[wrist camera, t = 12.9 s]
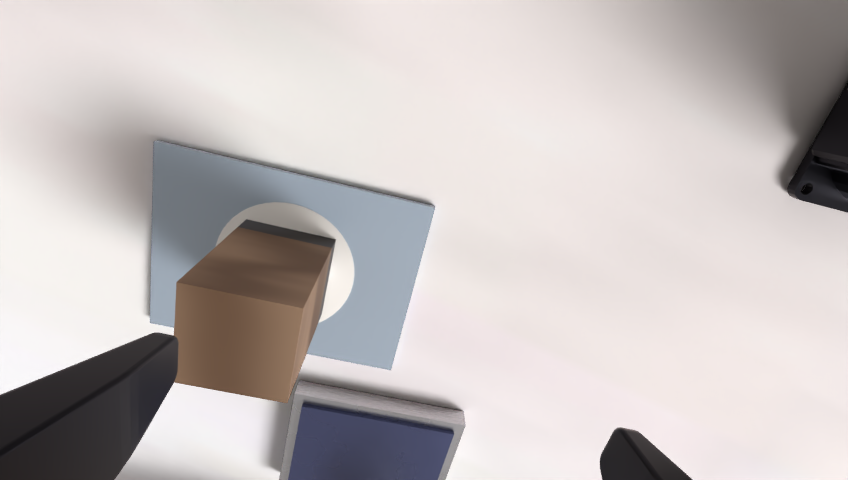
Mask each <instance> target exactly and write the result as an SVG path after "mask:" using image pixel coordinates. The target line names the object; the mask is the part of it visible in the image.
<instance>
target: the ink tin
mask: <svg viewBox="0 0 848 480" xmlns="http://www.w3.org/2000/svg"><path fill="white" fill-rule="evenodd" d="M464 428H465V418H464V411H458V410H453V409H448V408H443V407H437V406H432V405H427V404H422V403H416V402H411V401H406V400H401V399H395V398H390V397H385V396H380V395H374V394H369V393H364V392H359V391H353V390H348V389H343V388H338V387H332V386H327V385H322V384H317V383H311V382H306V381H301V380H299V383H298V385H297V388H296V391H295V393H294V399H293V405H292V410H291V416H290V422H289V427H288V433H287V439H286V444H285V450H284V456H283V461H282V467H281V473H280V478H279V480H445V479H446V477H447V474H448V471H449V468H450V466H451V463H452V460H453V458H454V455H455V452H456V450H457V447H458V444H459V441H460V439H461V436H462V433H463V431H464Z"/></svg>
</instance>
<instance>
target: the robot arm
mask: <svg viewBox="0 0 848 480" xmlns="http://www.w3.org/2000/svg"><path fill="white" fill-rule="evenodd" d="M804 185H805V188H804V189H803V191H801V188H802V187H803V186H804ZM788 193H789V195H790V196H791V197H793V198H796V199H799V200H802V201H806V202H810V203H814V204H817V205H821V206H825V207H829V208H833V209H837V210H840V211H844V212H848V83H847V85H846V86H845V88H844V90H843V92H842V93H841V95H840V97H839V99H838V100H837V102H836V104H835V105H834V107H833V109H832V111H831V112H830V114H829V116H828V118H827V119H826V121H825V123H824V125H823V126H822V128H821V130H820V132H819V133H818V135H817V137H816V138H815V140H814V142H813V144H812V145H811V147H810V149H809V151H808V152H807V154H806V156H805V158H804V159H803V161H802V163H801V165H800V166H799V168H798V170H797V172H796V173H795V175H794V177H793V178H792V180H791V182H790V184H789V186H788ZM178 348H179V342H178V339H177V337H175V336H172V335H168V334H163V333H152V334H149V335H147V336H144V337H142V338H139V339H137V340H134V341H132V342H129V343H127V344H124V345H122V346H120V347H117V348H115V349H112V350H110V351H107V352H105V353H102V354H100V355H97V356H95V357H92V358H90V359H88V360H85V361H83V362H80V363H78V364H75V365H73V366H70V367H68V368H65V369H63V370H60V371H58V372H55V373H53V374H51V375H48V376H46V377H43V378H41V379H38V380H36V381H33V382H31V383H28V384H26V385H23V386H21V387H19V388H16V389H14V390H11V391H9V392H6V393H4V394H1V395H0V480H114V479H115V478H116V477H117V475H118V474H119V472H120V471H121V470H122V468H123V467H124V465H125V464H126V462H127V461H128V460H129V458H130V457H131V455H132V453H133V452H134V450H135V449H136V447H137V445H138V444H139V442H140V440H141V438H142V437H143V435H144V433H145V432H146V430H147V428H148V426H149V425H150V423H151V421H152V419H153V418H154V416H155V414H156V412H157V411H158V409H159V407H160V406H161V404H162V402H163V400H164V399H165V397H166V395H167V393H168V392H169V390H170V388H171V386H172V385H173V383H174V381H175V379H176V376H177V372H178ZM600 470H601V475H602V480H692V479H691V478H690V477H689V476H688V475H687V474H686V473H684V472H683V471H682V470H681V469H680V468H679V467H678V466H677V465H675V464H674V463H673V462H672V461H671V460H670V459H669V458H668V457H666V456H665V455H664V454H663V453H662V452H661V451H660V450H659V449H657V448H656V447H655V446H654V445H653V444H652V443H651V442H650V441H648V440H647V439H646V438H645V437H644V436H643V435H642V434H641V433H639V432H638V431H635V430H631V429H626V428H617V429H615V430H614V432H613V433H612V435H611V437H610V439H609V441H608V443H607V445H606V446H605V448H604V450H603V452H602V454H601V457H600Z"/></svg>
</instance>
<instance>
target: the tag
mask: <svg viewBox="0 0 848 480" xmlns="http://www.w3.org/2000/svg"><path fill="white" fill-rule="evenodd" d="M434 210H435V206H433V205H428V204H424V203H420V202H416V201H412V200H407V199H403V198H399V197H395V196H390V195H386V194H382V193H378V192H374V191H369V190H365V189H361V188H357V187H353V186H348V185H344V184H340V183H336V182H332V181H327V180H323V179H319V178H315V177H311V176H306V175H302V174H298V173H294V172H289V171H285V170H281V169H277V168H273V167H268V166H264V165H260V164H256V163H252V162H247V161H243V160H239V159H235V158H231V157H226V156H222V155H218V154H214V153H209V152H205V151H201V150H197V149H193V148H188V147H184V146H180V145H176V144H172V143H167V142H163V141H159V140H157V141H154V147H153V196H152V244H151V292H150V323H153V324H158V325H163V326H168V327H173V328H174V324H175V302H176V282H177V281H178V280H179V279H180V278H182V277H183V276H184V275H185V274H186V273H187V272H188V271H189V270H190V269H192V268H193V267H194V266H195V265H196V264H197V263H198V262H199V261H200V260H202V259H203V258H204V257H205V256H206V255H207V254H208V253H209V252H210V251H212V250H213V249H214V248H215V247H216V246H217V245H218V244H219V243H220V242H222V241H223V240H224V239H225V238H226V237H227V236H228V235H229V234H230V233H231V232H233V231H234V230H235V229H236V228H237V227H238V226H239V225H240V224H241V223H243V222H244V221H245V220H246V219H248V220H252V221H257V222H261V223H266V224H270V225H274V226H279V227H283V228H288V229H292V230H297V231H301V232H306V233H310V234H314V235H319V236H323V237H328V238H332V239H336V242H335V247H334V253H333V258H332V263H331V268H330V274H329V279H328V284H327V289H326V295H325V300H324V305H323V310H322V315H321V317H320V320H319V322H318V325H317V328H316V330H315V333H314V335H313V338H312V341H311V343H310V346H309V348H308V351H307V353H306V354H311V355H316V356H321V357H326V358H331V359H336V360H341V361H346V362H351V363H356V364H362V365H367V366H372V367H377V368H382V369H387V370H391V368H392V364H393V360H394V357H395V353H396V349H397V346H398V342H399V338H400V335H401V331H402V327H403V324H404V320H405V316H406V313H407V309H408V305H409V302H410V298H411V294H412V291H413V287H414V283H415V280H416V276H417V272H418V269H419V265H420V261H421V258H422V254H423V250H424V247H425V243H426V239H427V236H428V232H429V228H430V225H431V221H432V217H433V214H434Z"/></svg>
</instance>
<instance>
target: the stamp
mask: <svg viewBox="0 0 848 480" xmlns="http://www.w3.org/2000/svg"><path fill="white" fill-rule="evenodd" d="M335 242H336V239H332V238H328V237H323V236H319V235H314V234H310V233H306V232H301V231H297V230H292V229H288V228H283V227H279V226H274V225H270V224H266V223H261V222H257V221H252V220H248V219H246V220H245V221H244V222H243V223H241V224H240V225H239V226H238V227H237V228H236V229H235V230H234V231H233V232H231V233H230V234H229V235H228V236H227V237H226V238H225V239H224V240H223V241H222V242H220V243H219V244H218V245H217V246H216V247H215V248H214V249H213V250H212V251H210V252H209V253H208V254H207V255H206V256H205V257H204V258H203V259H202V260H200V261H199V262H198V263H197V264H196V265H195V266H194V267H193V268H192V269H190V270H189V271H188V272H187V273H186V274H185V275H184V276H183V277H182V278H180V279H179V280H178V281H177V282H176V302H175V324H174V336H175V337H177V339H178V342H179V348H178V372H177V376H176V379H175V381H174V382H175V383H181V384H186V385H191V386H197V387H202V388H208V389H213V390H218V391H224V392H229V393H235V394H240V395H245V396H251V397H256V398H262V399H267V400H272V401H278V402H283V403H287V402H288V400H289V397H290V395H291V392H292V389H293V387H294V384H295V382H296V379H297V377H298V374H299V371H300V369H301V366H302V364H303V361H304V359H305V356H306V353H307V351H308V348H309V346H310V343H311V341H312V338H313V335H314V333H315V330H316V328H317V325H318V322H319V320H320V317H321V315H322V310H323V305H324V300H325V295H326V289H327V284H328V279H329V274H330V268H331V263H332V258H333V253H334V247H335Z"/></svg>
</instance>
